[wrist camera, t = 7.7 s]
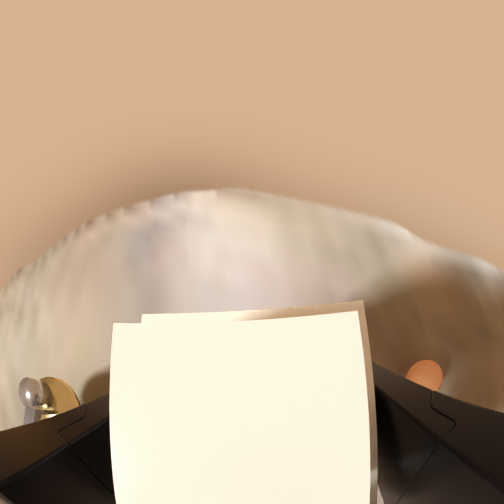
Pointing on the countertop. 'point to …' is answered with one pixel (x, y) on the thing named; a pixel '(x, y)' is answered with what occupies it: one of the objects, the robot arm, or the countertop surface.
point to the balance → (46, 398)
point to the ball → (426, 374)
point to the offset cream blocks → (244, 407)
